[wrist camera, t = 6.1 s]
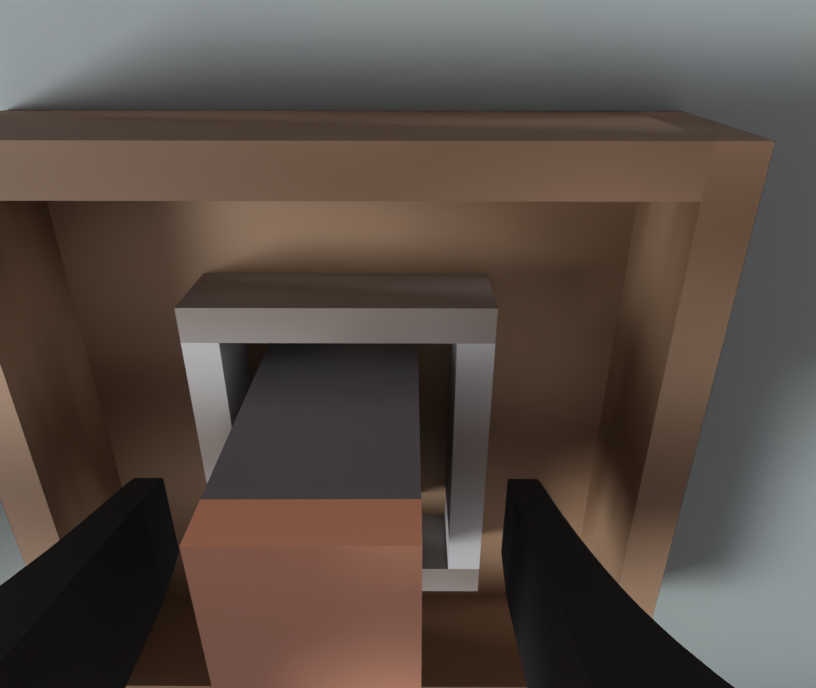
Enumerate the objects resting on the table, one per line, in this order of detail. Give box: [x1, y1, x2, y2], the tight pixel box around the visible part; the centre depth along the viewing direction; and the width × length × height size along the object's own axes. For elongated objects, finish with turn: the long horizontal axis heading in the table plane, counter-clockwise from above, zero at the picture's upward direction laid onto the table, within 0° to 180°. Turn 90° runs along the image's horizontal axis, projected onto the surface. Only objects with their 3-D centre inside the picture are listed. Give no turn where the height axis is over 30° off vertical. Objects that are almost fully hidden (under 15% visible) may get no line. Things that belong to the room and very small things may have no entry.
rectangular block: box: [179, 343, 422, 688], centre depth 13 cm, size 5×4×7 cm
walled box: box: [0, 110, 775, 688], centre depth 15 cm, size 15×15×4 cm
